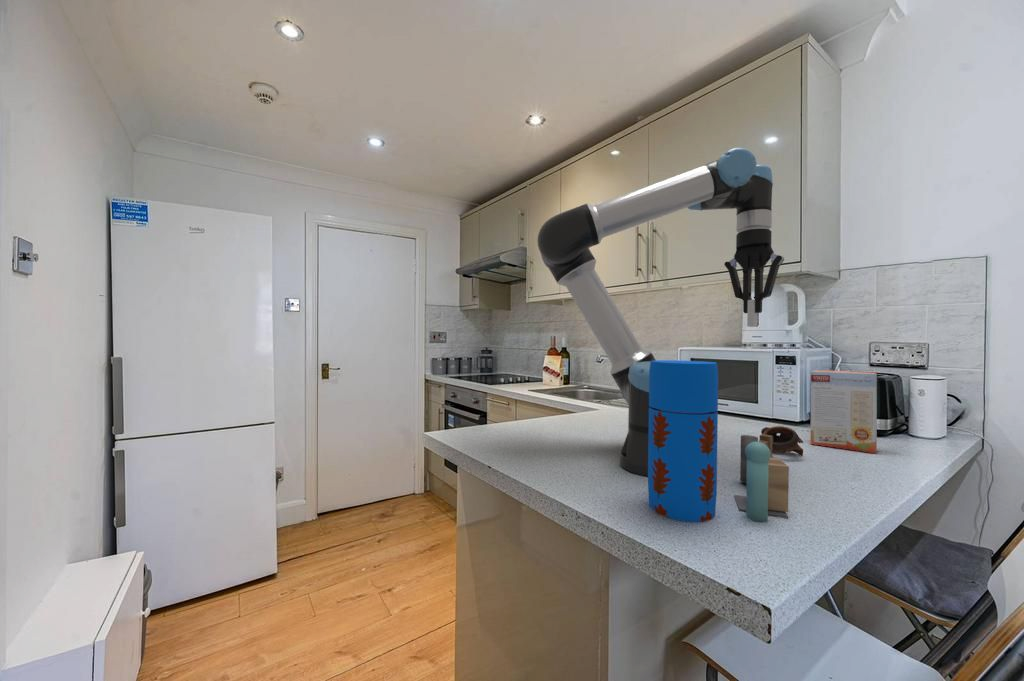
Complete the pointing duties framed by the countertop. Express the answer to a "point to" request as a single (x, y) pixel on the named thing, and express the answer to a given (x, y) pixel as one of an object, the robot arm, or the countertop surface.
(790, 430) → the pottery mug
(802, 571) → the countertop surface
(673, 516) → the thermos
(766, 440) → the fence
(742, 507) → the pad
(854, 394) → the cracker box
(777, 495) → the wooden u-shaped block
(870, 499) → the countertop surface
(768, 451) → the post
